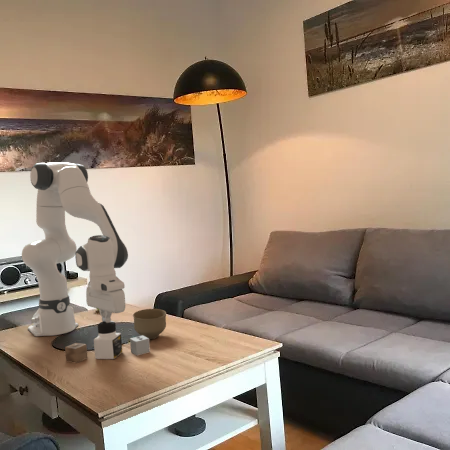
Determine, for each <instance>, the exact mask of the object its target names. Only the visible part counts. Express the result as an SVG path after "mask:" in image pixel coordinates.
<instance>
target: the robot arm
mask: <svg viewBox="0 0 450 450" xmlns="http://www.w3.org/2000/svg"><path fill="white" fill-rule="evenodd" d="M29 177H30V183H31V185H32V186H33V188H34V189H36V190H37V194H36V207H35V208H36V212H35V213H36V215H35V216H36V220H35V221H36V225H37V226H38V228H40V229H41V230H42V231H43V233H44V237H45V239H40V240H34V241H33V242H30V243H28V244H26V245H25V246H24V247H23V248H22V251H21V259H22V262H23V263H24V265H26V266H27V267H28V268H30V269H31V271H33V273H34V275H35V276H36V280H37V282H38V289H39V296H40V298H39V299H38V309H37V310H36V312H35V313H34V314H33V316H32V318H31V320H30V321H31V324H32V325H31V324H30V325H29V326H28V327H27V330H28V331H29V332H30V333H31V334H32V335H33V336H34V337H42V336H44V337H45V336H57V335H62V334H63V335H64V334H67V333H70V332H72V331H74V330H75V329H76V328H77V327H78V326H79V323H78V322H76V319H75V313H74V312H75V311H74V308H73V307H72V306H71V305H70V304H71V299H70V296H69V292H68V291H69V290H68V280H67V278H66V276H65V275H64V274H62V273H61V272H60V270H58V266H57V264H61V263H65V262H68V261H69V260H71V259H72V258H74V257H75V265H76V267H77V268H78V269H80V270H81V271H83V272H89V282H88V283H87V287H86V292H85V294H86V296H85V297H86V305H87V306H88V307H91V308H94V309H96V308H98V309H99V310H98V312H99V314H100V316H101V322H106V323H109V322H111V321H112V318H111V317H112V314H119V313H124V312H125V309H126V295H125V294H126V293H125V291H124V290H125V287H126V286H125V282H124V281H122V280H121V279H120V278H119V277H118V276H117V273H116V269H121V268H122V267H123V266H124V265H125V264H126V262H127V261H128V259H129V252H128V251H129V250H128V249H127V246H126V245H125V243H124V242H123V241H122V239H121V237H120V235H119V233H118V232H117V230H116V227H115V225H114V223H113V221H112V220H111V217H110V215H109V214H108V211H107V209H106V208H105V206H104V204H102V203H100V202H99V201H97V200H96V198H95V197H93V195H92V193H91V191H90V187H89V184H88V180H89V173H88V170H87V169H86V167H85V166H84V165H83V164H79V163H75V162H74V163H71V162H63V161H61V162H47V163H45V162H38V163H35V164H34V165H33V166H32V168H31V170H30V176H29ZM66 213H67V214H68V215H70V216H72V217H74V218H78V219H83V220H86V221H89V222H92V223H94V224H96V226H98V227H99V229H100V231H101V234H98V235H97V234H96V235H92V236H90V237H88V239H87V243H84V244H83V245H80V246H78V248H77V244H76V242H75V241H74V239H73V238H71V237H70V234H69V232H68V229H67V226H66Z"/></svg>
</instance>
